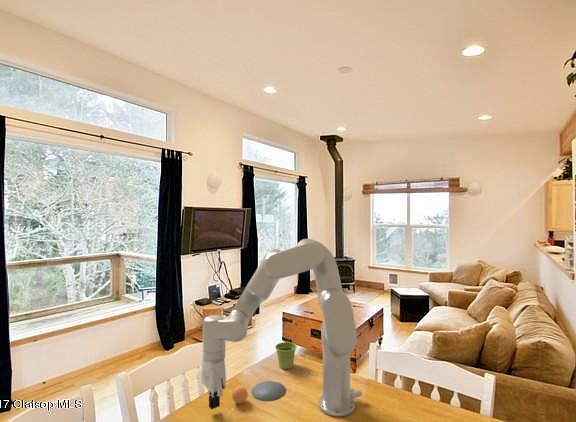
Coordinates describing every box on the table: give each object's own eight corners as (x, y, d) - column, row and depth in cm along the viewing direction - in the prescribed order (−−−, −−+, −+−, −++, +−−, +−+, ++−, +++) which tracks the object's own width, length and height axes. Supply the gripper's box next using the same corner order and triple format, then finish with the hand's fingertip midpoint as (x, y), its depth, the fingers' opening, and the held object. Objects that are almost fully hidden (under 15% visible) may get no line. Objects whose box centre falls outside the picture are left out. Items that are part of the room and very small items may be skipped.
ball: (244, 396, 123) (244, 381, 123) (249, 404, 118) (249, 389, 118) (230, 400, 121) (230, 385, 121) (234, 408, 116) (234, 392, 116)
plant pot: (270, 367, 145) (270, 347, 145) (283, 359, 153) (283, 340, 152) (288, 373, 139) (288, 352, 139) (300, 364, 147) (300, 345, 147)
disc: (277, 378, 135) (277, 378, 135) (291, 395, 123) (291, 394, 123) (246, 386, 130) (246, 385, 130) (258, 404, 118) (258, 403, 118)
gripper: (195, 348, 117) (195, 400, 117) (212, 364, 105) (213, 422, 105) (215, 343, 122) (215, 393, 122) (234, 358, 110) (234, 413, 110)
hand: (214, 406), depth 114 cm, fingers closed
